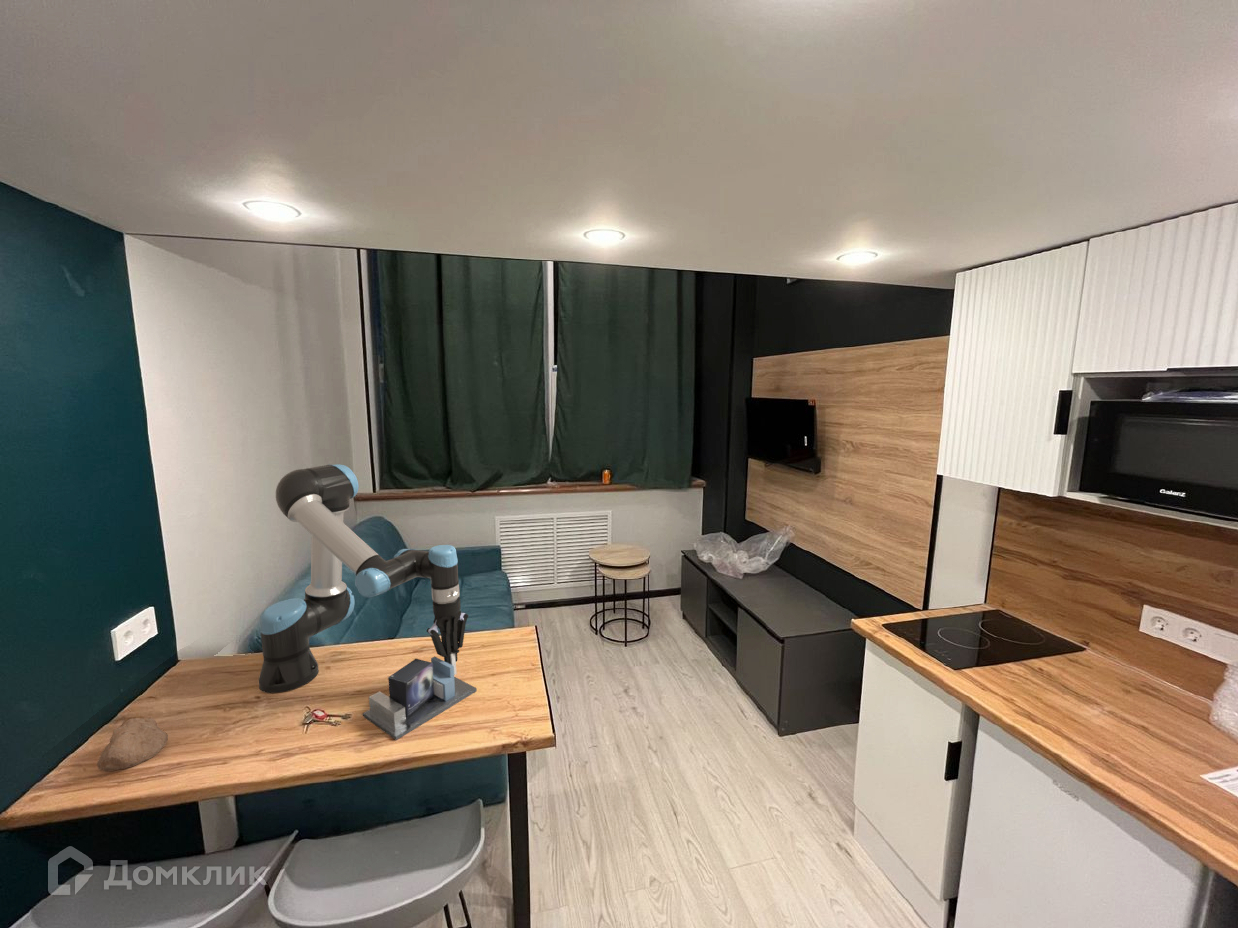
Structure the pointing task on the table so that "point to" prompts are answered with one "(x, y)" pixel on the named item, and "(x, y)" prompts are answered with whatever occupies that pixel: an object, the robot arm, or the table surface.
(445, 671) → the sliding jaw
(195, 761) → the table surface
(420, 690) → the small box
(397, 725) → the vise
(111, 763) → the stone
